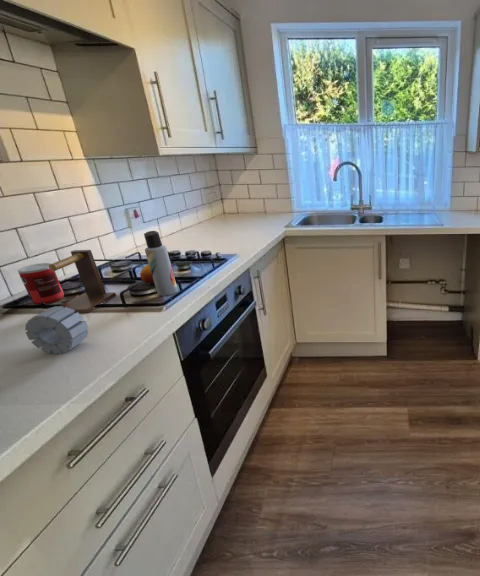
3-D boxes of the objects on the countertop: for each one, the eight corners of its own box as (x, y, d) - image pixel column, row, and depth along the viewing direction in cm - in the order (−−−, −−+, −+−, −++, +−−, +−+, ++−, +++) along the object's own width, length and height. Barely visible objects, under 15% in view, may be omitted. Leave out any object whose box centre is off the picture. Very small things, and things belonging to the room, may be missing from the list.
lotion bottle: (179, 288, 119) (163, 228, 112) (176, 294, 115) (159, 233, 107) (159, 291, 118) (142, 230, 110) (156, 297, 113) (137, 235, 105)
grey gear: (36, 354, 84) (17, 316, 80) (53, 343, 89) (37, 306, 85) (78, 353, 84) (62, 315, 80) (94, 342, 89) (79, 305, 85)
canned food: (42, 296, 116) (28, 264, 112) (70, 293, 117) (57, 261, 113) (25, 306, 109) (10, 272, 105) (55, 303, 110) (41, 270, 106)
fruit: (162, 283, 120) (145, 263, 118) (147, 293, 123) (131, 274, 121) (178, 274, 127) (163, 255, 125) (164, 284, 130) (149, 266, 128)
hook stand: (53, 313, 104) (31, 262, 98) (85, 296, 115) (67, 249, 109) (88, 312, 104) (68, 262, 98) (116, 295, 115) (100, 249, 109)
